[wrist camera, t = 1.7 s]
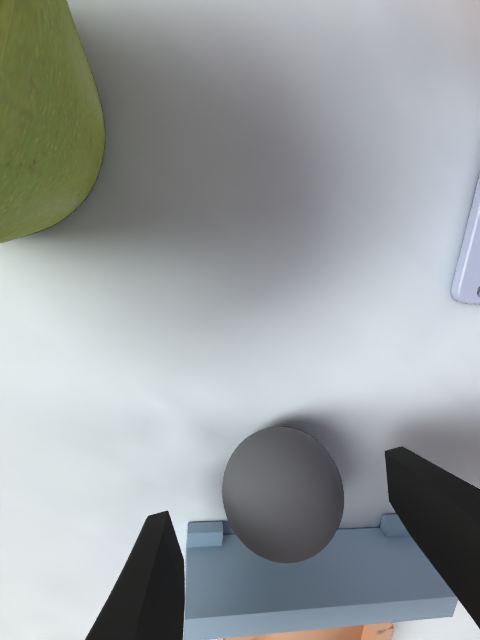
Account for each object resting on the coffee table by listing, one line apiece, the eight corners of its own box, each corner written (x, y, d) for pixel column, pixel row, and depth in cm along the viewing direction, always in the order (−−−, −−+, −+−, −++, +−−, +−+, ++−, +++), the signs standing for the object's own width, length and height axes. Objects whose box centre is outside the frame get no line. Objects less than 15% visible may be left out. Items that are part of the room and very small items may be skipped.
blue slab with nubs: (411, 513, 15) (463, 581, 12) (400, 555, 15) (447, 630, 12) (187, 522, 13) (185, 602, 10) (184, 568, 14) (182, 657, 11)
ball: (324, 406, 13) (380, 480, 9) (309, 492, 14) (355, 593, 10) (222, 404, 12) (235, 483, 8) (214, 494, 13) (223, 603, 9)
